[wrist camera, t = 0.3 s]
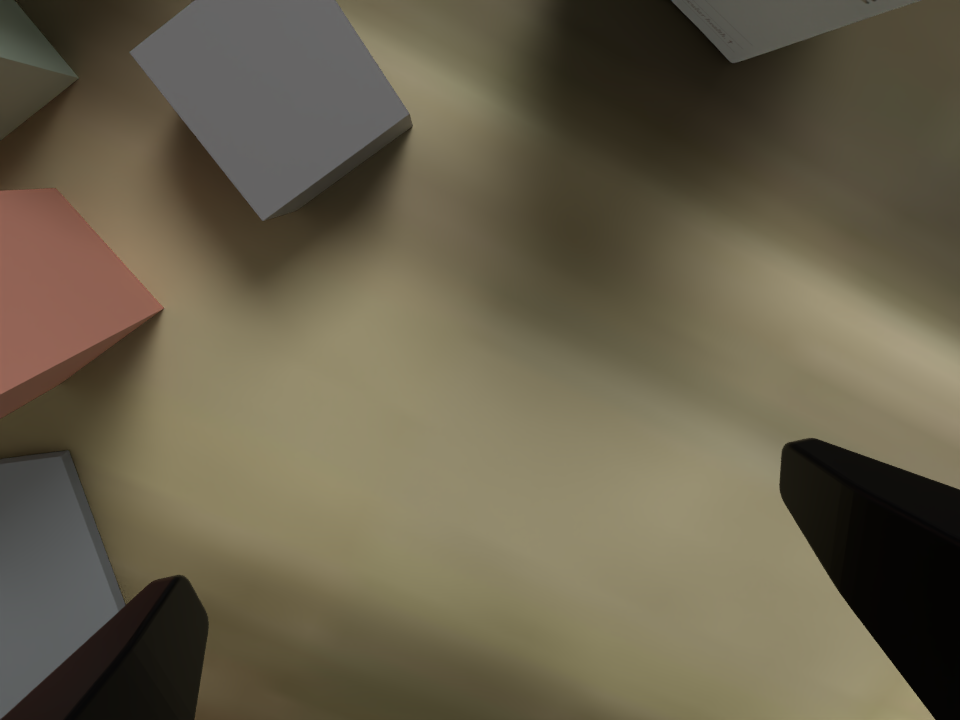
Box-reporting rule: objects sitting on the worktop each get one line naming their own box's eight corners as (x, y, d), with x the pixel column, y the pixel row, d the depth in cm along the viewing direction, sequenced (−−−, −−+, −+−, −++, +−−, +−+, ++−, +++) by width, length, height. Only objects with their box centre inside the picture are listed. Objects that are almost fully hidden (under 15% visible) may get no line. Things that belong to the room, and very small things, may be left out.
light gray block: (412, 126, 20) (409, 113, 15) (296, 210, 20) (262, 221, 16) (319, -16, 18) (287, -74, 14) (196, 79, 19) (129, 52, 14)
